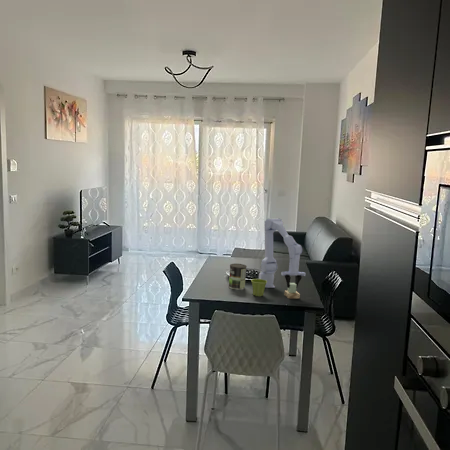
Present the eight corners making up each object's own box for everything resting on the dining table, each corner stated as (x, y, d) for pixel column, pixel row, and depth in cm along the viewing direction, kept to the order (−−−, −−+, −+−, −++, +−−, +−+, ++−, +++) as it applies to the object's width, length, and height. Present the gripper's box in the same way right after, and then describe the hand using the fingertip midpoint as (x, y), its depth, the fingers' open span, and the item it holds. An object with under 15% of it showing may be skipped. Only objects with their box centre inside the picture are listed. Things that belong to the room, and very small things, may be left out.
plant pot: (249, 292, 259) (250, 278, 258) (264, 292, 260) (265, 279, 259) (251, 297, 250) (252, 282, 249) (267, 297, 251) (268, 283, 250)
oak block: (288, 299, 252) (288, 294, 252) (284, 295, 259) (284, 290, 259) (299, 299, 254) (299, 294, 253) (295, 295, 261) (295, 290, 260)
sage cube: (289, 292, 254) (290, 284, 253) (287, 290, 258) (288, 282, 257) (295, 292, 255) (296, 284, 254) (293, 290, 259) (294, 282, 258)
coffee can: (232, 290, 261) (233, 267, 259) (226, 285, 271) (227, 263, 269) (247, 289, 265) (249, 267, 263) (241, 284, 275) (242, 263, 273)
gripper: (284, 266, 249) (282, 289, 251) (308, 267, 251) (306, 289, 253) (280, 263, 256) (278, 285, 258) (303, 264, 258) (301, 286, 260)
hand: (292, 287), depth 256 cm, fingers open, 4 cm apart
